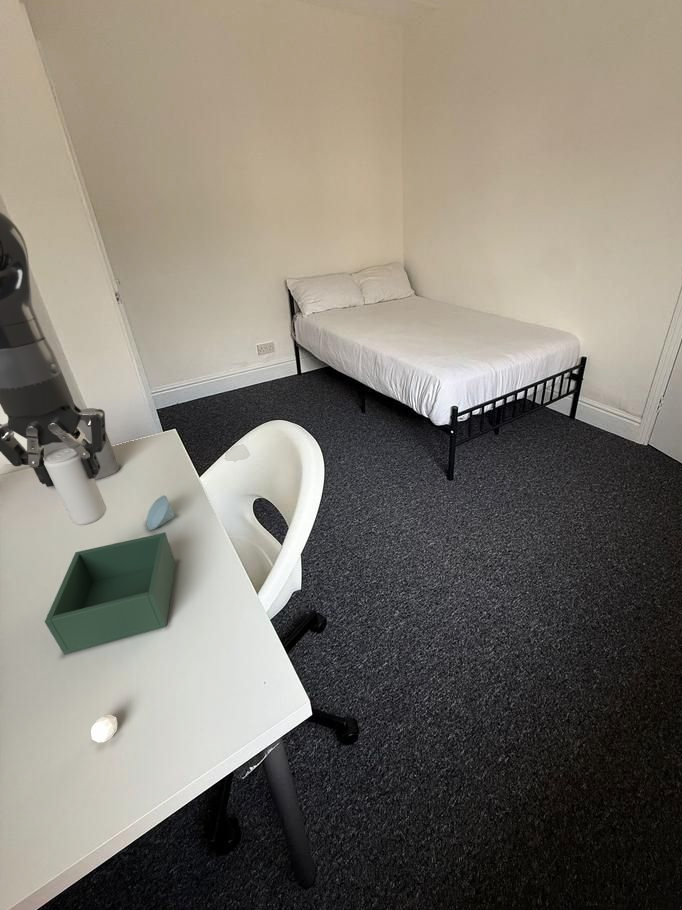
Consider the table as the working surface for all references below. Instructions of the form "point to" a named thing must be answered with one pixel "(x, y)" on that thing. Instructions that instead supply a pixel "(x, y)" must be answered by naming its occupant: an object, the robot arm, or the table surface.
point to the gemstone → (159, 513)
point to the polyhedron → (104, 728)
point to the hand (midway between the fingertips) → (73, 479)
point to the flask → (104, 457)
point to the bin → (113, 593)
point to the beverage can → (74, 486)
